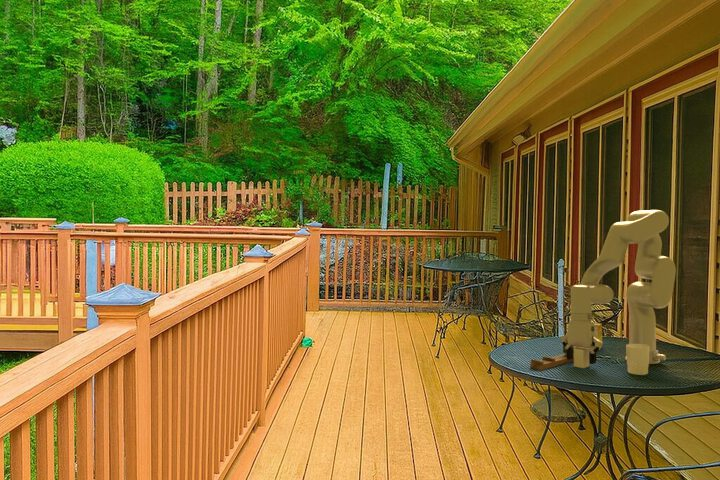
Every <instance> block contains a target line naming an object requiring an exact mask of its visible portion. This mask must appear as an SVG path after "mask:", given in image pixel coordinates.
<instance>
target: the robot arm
mask: <svg viewBox="0 0 720 480" xmlns="http://www.w3.org/2000/svg"><path fill="white" fill-rule="evenodd" d="M669 223H670V218H669V216H668V214H667V213H666V212H665V211H663V210H659V209H650V210H647V209H646V210H636V211H633V212H631V213H630V214H628V218H627V221H618V222H615V223H613V224H612V225H611V226H610V228H609V231H608V232H607V235H606V237H605V241H604V244H603V246H602V249H601V251H600V254H599V256H598V257H597V258H596V259H595V260H594V261H593V262H592V263H591V264H590V266H589V267H587V269H586V271H585V272H584V273H583V276H582V278H581V281H580V284H575V285H572V286H571V287H570V319H569V321H568V325H567V333H566V334H565V335H562V336H560V340H561V343H562V346H563V345H564V346H565V349H566V355H567V360H570V359H573V349H572V347H573V346H578V347H582V348H588V349H589V351H590V352H591V353H590V364H589V365H594V364H596V363H597V354H598V353H599V351H601V349H602V348H603V345H604V342H603V341H602V342H601V341H600V340H598V339H597V338H596V330H595V325H594V323H595V322H594V321H593V320H594V319H595V315H593V313H592V311H593V309H592V304H597V305H606V304H609V303H610V302H612V301H613V299H614V297H615V296H614V295H615V293H614V291H613V289H612V288H611V287H610V286H608V285H606V284H601V283H600V281H601V279H602V277H604V275H606V274H607V273H608V272H609V271H612V270H614V269H616V268H617V267H620V266H621V265H622V264H623V261H624V258H625V256H626V253H627V250H628V247H629V245H630V244H631V245H632V244H633V245H634V244H636V245H637V252H636V257H635V263H634V273H635V275H636V276H637V277H638V278H640V279H644V280H645V279H646V280H651V282H648V281H646V282H645V281H635V282H631V284H629V285H628V287H627V289H626V293H625V294H626V301H627V305H628V312H629V313H628V315H629V316H628V319H629V320H628V327H629V330H628V337H629V339H628V340H629V342H628V344H643V345H648V346H649V347H650V349H649V365H655V364H657V365H658V364H659V363H661V361H666V359H667V357H666V354H660V353H659V350H657V346H656V345H657V340H656V338H657V337H656V335H657V333H656V332H657V331H656V329H657V328H656V325H657V324H656V323H657V321H656V320H657V319H656V313H655V310H654V309H664V308H667V307H668V305H669V304H670V303H671V300H672V297H673V291H674V285H675V281H676V272H677V270H676V269H677V267H676V264H675V262H674V260H672V258H670V256H664V255H662V249H663V248H662V247H663V242H662V237H661V236H660V233H663V231H665V230H666V229H667V227H668V226H669ZM599 283H600V284H599ZM566 338H567V341H566ZM567 342H568V343H567ZM596 343H597V347H595V346H596ZM601 347H602V348H601ZM624 359H625V361H626V362H627V356H626V355H625V356H624Z"/></svg>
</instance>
